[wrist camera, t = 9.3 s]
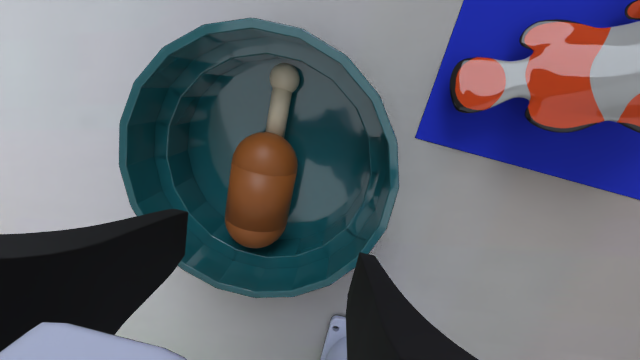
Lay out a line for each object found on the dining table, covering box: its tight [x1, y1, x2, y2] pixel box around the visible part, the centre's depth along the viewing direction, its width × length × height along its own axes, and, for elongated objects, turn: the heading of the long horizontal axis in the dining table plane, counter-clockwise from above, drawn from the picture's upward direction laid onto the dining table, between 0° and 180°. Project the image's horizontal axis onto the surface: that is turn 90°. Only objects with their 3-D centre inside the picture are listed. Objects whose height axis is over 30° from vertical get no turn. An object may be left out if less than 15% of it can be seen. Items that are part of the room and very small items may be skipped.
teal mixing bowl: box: [119, 18, 399, 298], centre depth 19 cm, size 15×15×6 cm
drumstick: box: [225, 63, 300, 248], centre depth 19 cm, size 12×4×4 cm, turn 168°
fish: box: [449, 0, 640, 134], centre depth 15 cm, size 13×5×9 cm
